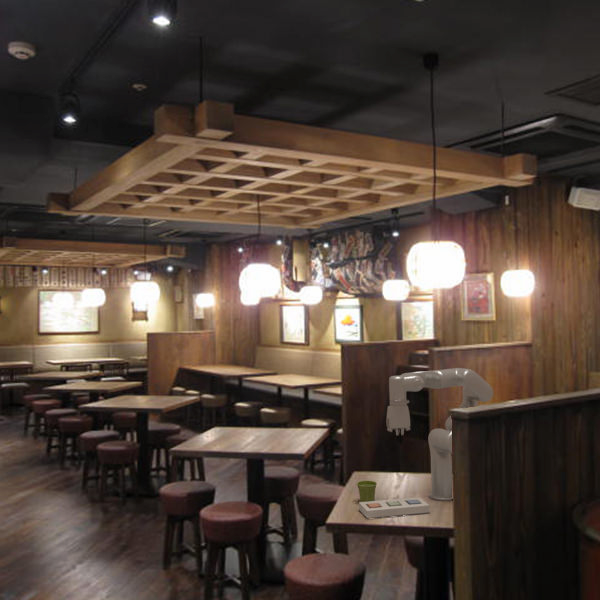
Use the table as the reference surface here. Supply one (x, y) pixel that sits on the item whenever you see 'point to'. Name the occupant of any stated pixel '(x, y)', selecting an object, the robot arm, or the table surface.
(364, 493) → the plant pot
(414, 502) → the slate button
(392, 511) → the button panel
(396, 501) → the sage button
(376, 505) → the terracotta button
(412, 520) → the table surface
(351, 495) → the table surface
